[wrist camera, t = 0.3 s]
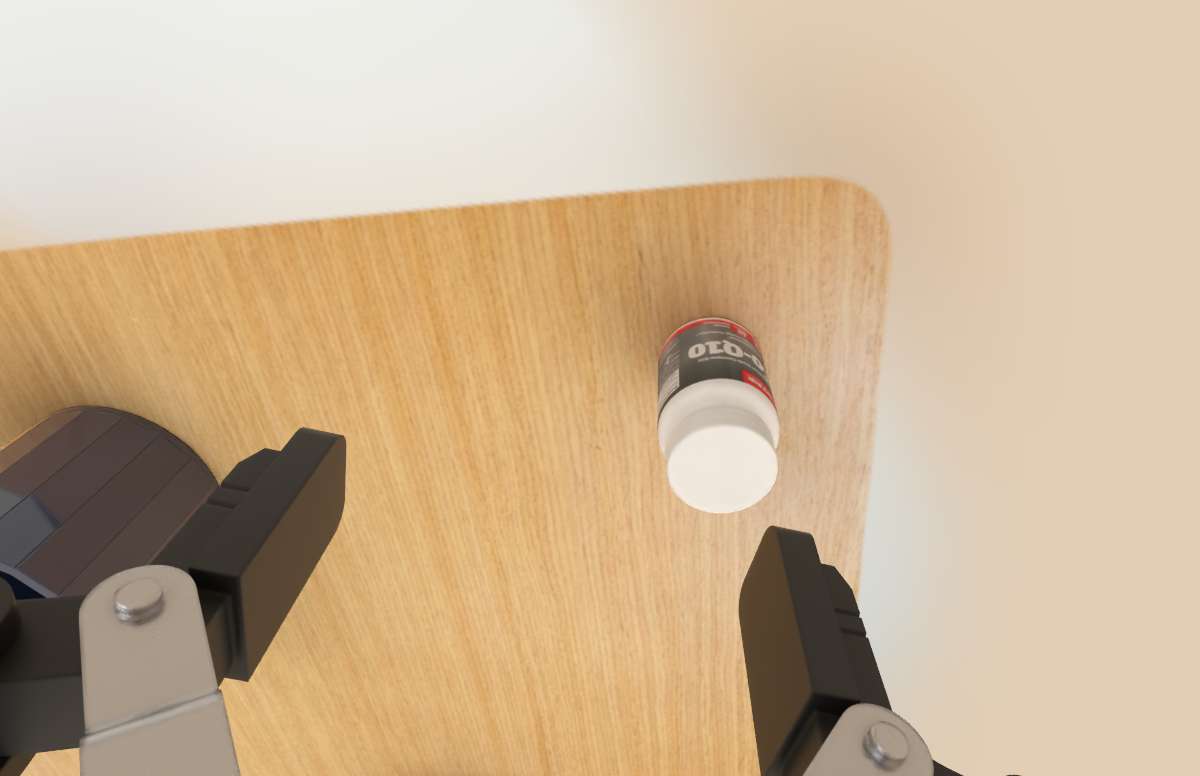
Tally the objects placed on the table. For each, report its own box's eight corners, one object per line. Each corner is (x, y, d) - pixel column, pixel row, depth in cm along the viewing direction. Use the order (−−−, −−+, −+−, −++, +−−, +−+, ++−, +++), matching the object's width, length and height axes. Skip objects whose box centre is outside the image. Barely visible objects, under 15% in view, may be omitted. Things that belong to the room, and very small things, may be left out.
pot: (4, 386, 36) (-203, 515, 27) (218, 429, 36) (80, 569, 27) (48, 540, 41) (-112, 688, 33) (233, 575, 42) (123, 730, 33)
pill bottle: (778, 332, 31) (814, 438, 24) (736, 416, 34) (758, 535, 26) (678, 301, 31) (685, 399, 24) (643, 388, 33) (640, 501, 26)
